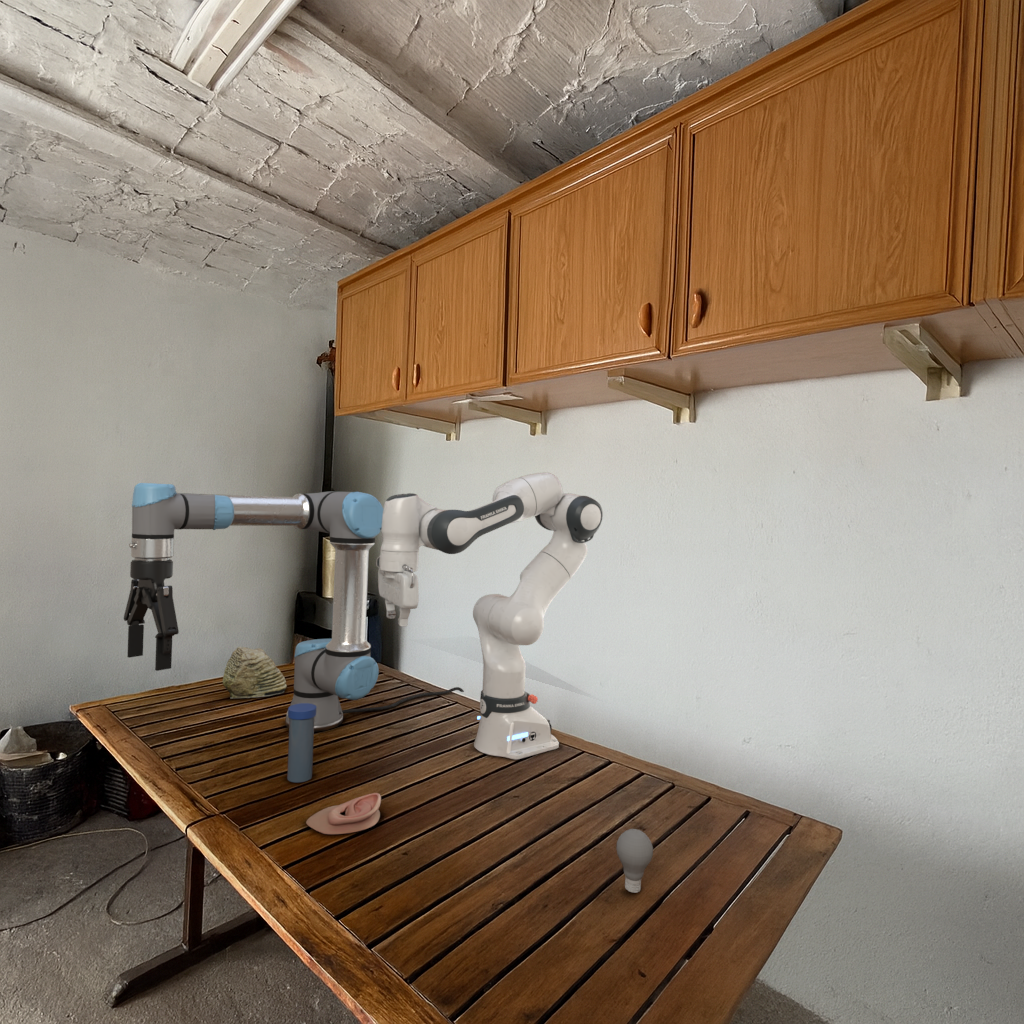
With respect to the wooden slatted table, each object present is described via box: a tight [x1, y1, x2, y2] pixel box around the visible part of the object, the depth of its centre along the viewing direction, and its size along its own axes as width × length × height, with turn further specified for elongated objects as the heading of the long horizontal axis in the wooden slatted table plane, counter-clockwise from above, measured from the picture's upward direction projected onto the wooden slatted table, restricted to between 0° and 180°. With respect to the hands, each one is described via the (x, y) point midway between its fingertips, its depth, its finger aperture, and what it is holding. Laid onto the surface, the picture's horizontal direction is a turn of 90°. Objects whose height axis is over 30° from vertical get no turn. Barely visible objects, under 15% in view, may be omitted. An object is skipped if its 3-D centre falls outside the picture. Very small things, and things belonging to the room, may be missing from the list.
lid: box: [287, 703, 316, 720], centre depth 142 cm, size 6×6×2 cm
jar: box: [286, 716, 315, 784], centre depth 142 cm, size 5×5×15 cm
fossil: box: [222, 646, 288, 699], centre depth 198 cm, size 9×18×15 cm, turn 132°
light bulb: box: [615, 828, 654, 894], centre depth 106 cm, size 6×6×10 cm
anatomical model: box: [305, 792, 382, 835], centre depth 124 cm, size 13×4×12 cm
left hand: (148, 662), depth 129 cm, fingers open, 13 cm apart
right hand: (396, 621), depth 148 cm, fingers open, 8 cm apart
